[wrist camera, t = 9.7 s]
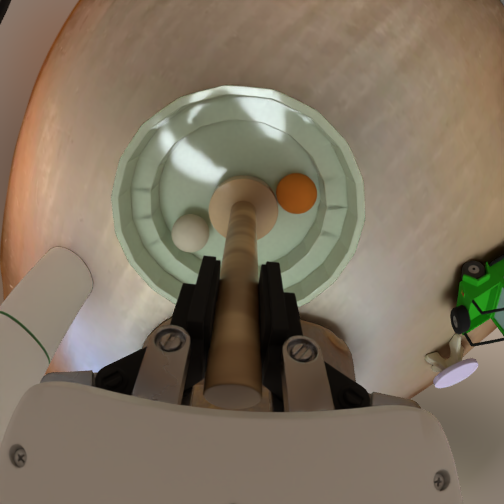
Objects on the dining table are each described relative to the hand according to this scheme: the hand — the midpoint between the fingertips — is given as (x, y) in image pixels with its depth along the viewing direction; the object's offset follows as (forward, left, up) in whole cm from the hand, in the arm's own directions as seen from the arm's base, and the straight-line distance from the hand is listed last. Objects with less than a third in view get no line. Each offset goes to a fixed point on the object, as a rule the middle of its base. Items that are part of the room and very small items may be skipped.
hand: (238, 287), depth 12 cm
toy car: (+33, -5, -12) cm, 35 cm away
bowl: (0, 0, -11) cm, 11 cm away
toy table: (+36, -21, -12) cm, 43 cm away
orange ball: (+4, +2, -9) cm, 10 cm away
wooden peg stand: (0, 0, -10) cm, 10 cm away
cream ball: (-4, -2, -9) cm, 10 cm away
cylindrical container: (-19, -10, -12) cm, 25 cm away
